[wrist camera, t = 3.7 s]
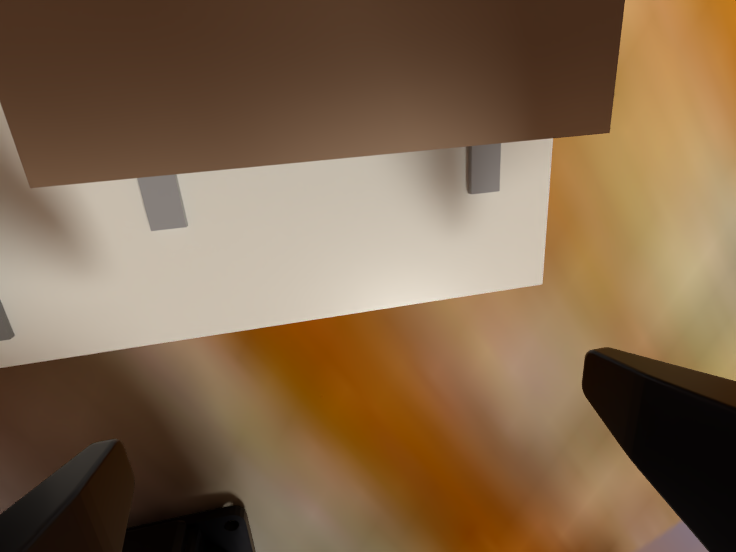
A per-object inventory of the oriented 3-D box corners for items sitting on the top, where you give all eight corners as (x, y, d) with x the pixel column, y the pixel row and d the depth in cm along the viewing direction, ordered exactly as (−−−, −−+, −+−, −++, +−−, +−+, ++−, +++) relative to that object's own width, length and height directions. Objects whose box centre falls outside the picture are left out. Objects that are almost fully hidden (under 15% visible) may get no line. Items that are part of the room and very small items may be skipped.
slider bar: (525, 130, 11) (608, 133, 8) (103, 169, 9) (30, 188, 7) (531, -7, 10) (631, -57, 7) (58, 10, 8) (-52, -46, 6)
